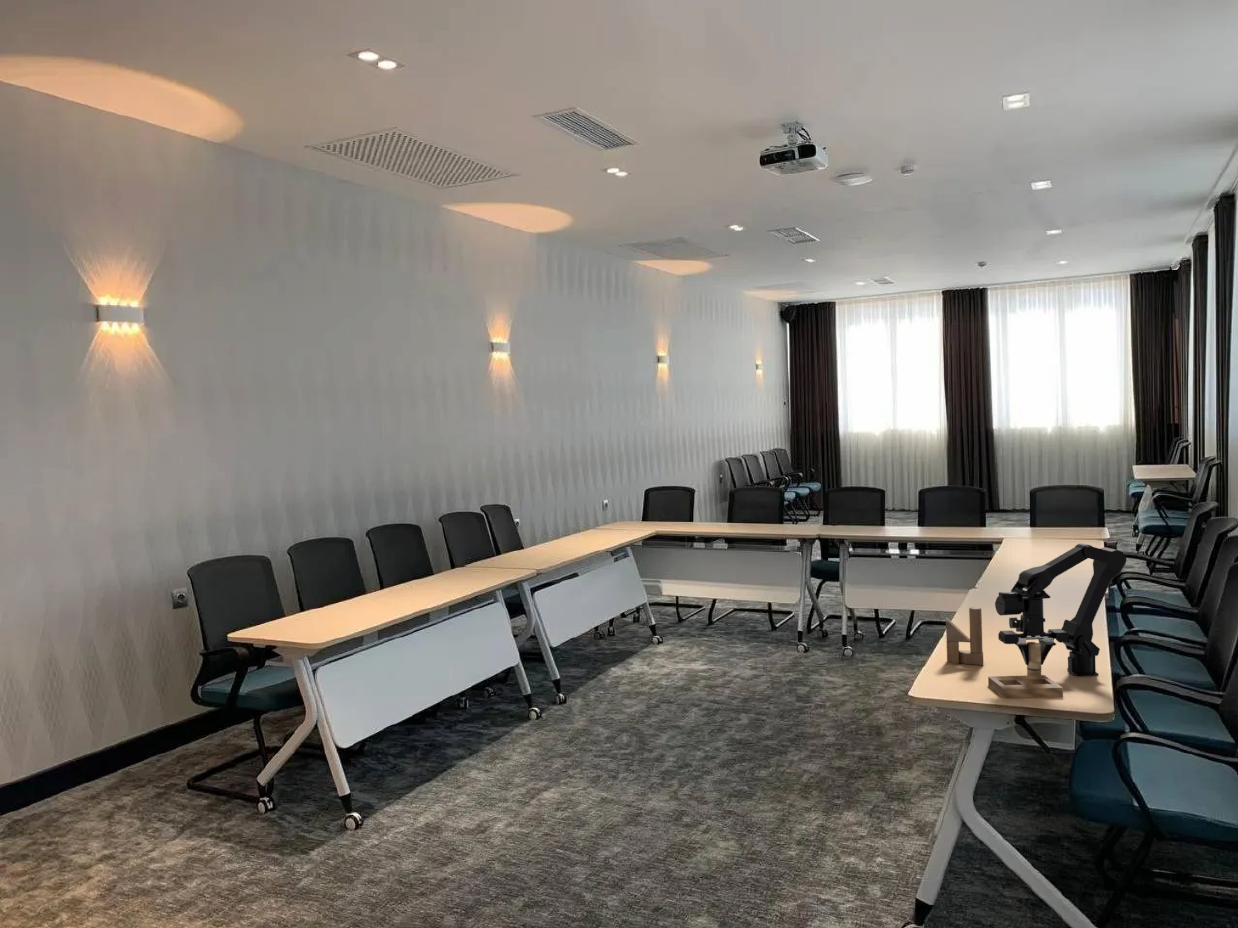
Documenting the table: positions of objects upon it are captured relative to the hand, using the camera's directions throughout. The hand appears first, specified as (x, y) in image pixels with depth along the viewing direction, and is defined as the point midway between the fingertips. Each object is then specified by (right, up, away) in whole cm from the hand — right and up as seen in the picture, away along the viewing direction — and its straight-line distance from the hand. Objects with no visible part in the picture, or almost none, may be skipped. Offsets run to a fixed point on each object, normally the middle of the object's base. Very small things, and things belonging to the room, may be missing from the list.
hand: (1034, 664), depth 260 cm
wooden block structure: (-14, -4, +17) cm, 22 cm away
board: (-9, -5, -12) cm, 16 cm away
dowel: (0, -4, 0) cm, 4 cm away
